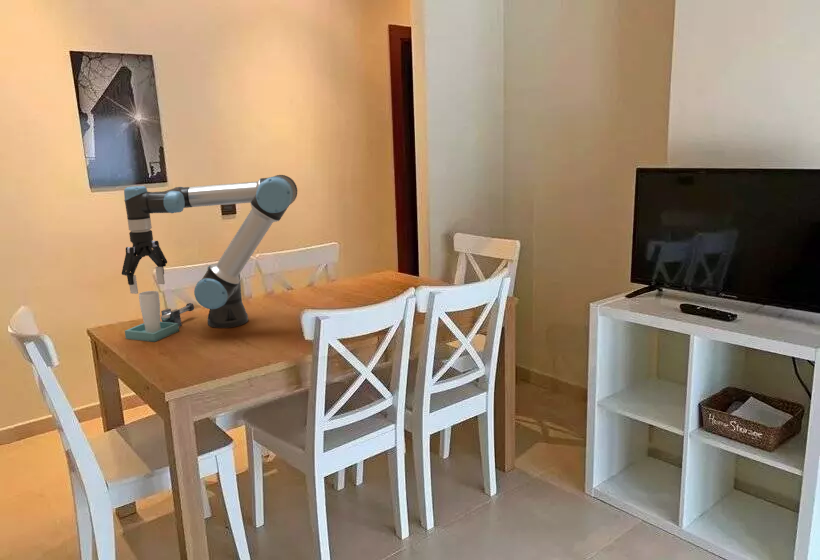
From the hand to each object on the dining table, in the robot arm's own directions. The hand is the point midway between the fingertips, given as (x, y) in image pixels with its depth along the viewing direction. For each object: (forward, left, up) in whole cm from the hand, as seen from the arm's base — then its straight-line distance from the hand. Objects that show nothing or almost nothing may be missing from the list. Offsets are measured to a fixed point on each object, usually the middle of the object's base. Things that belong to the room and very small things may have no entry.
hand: (148, 288), depth 231 cm
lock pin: (0, -14, -15) cm, 20 cm away
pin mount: (0, -10, -18) cm, 20 cm away
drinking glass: (0, 0, -17) cm, 17 cm away
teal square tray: (0, 0, -18) cm, 18 cm away
